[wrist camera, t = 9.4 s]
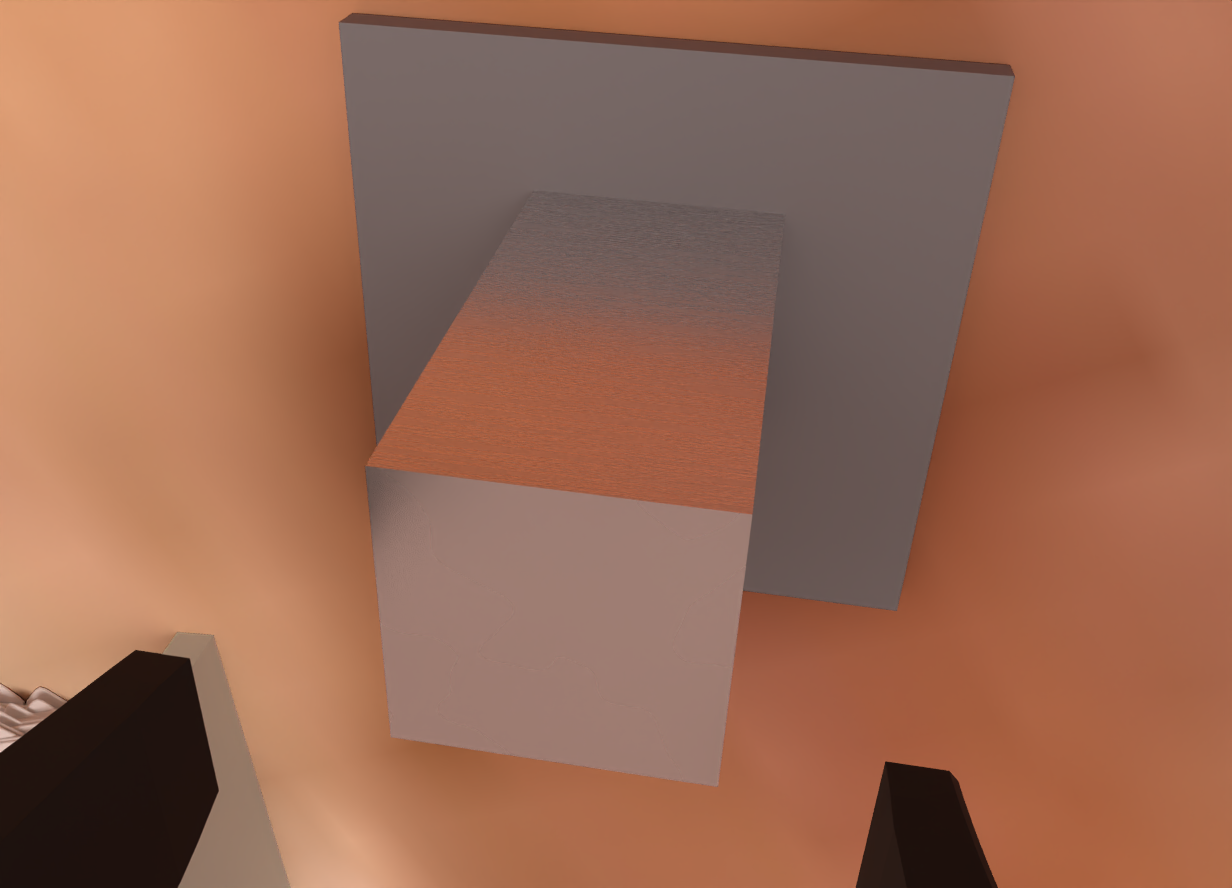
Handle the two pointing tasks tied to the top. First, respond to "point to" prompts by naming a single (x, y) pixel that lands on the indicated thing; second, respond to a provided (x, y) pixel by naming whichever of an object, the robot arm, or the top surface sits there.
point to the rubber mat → (710, 177)
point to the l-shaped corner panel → (238, 822)
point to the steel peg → (581, 490)
